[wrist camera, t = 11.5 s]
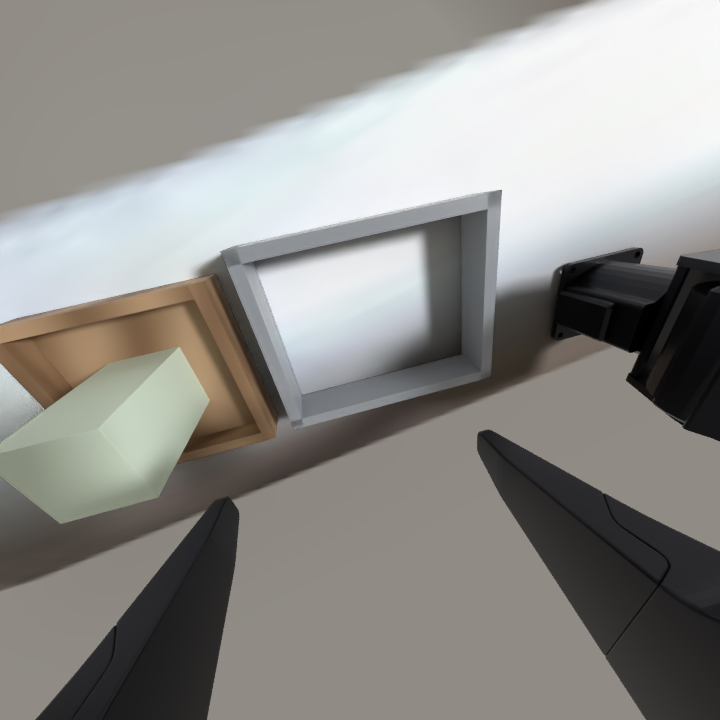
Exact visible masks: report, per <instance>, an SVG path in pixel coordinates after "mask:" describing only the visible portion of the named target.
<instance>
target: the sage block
mask: <svg viewBox="0 0 720 720" xmlns="http://www.w3.org/2000/svg"><path fill="white" fill-rule="evenodd" d="M209 401H210V399H209V398H208V396H207V394H206V392H205V391H204V389H203V387H202V385H201V384H200V382H199V380H198V378H197V377H196V375H195V373H194V371H193V370H192V368H191V366H190V364H189V363H188V361H187V359H186V357H185V356H184V354H183V352H182V350H181V349H180V347H176V348H171V349H167V350H163V351H159V352H154V353H150V354H146V355H142V356H137V357H133V358H129V359H125V360H120V361H116V362H112V363H109V364H107V365H106V366H104V367H103V368H102V369H100V370H99V371H98V372H96V373H95V374H93V375H92V376H91V377H89V378H88V379H87V380H85V381H84V382H83V383H81V384H80V385H78V386H77V387H76V388H74V389H73V390H72V391H70V392H69V393H67V394H66V395H65V396H63V397H62V398H61V399H59V400H58V401H56V402H55V403H54V404H52V405H51V406H50V407H48V408H47V409H46V410H44V411H43V412H41V413H40V414H39V415H37V416H36V417H35V418H33V419H32V420H30V421H29V422H28V423H26V424H25V425H24V426H22V427H21V428H20V429H18V430H17V431H15V432H14V433H13V434H11V435H10V436H9V437H7V438H6V439H4V440H3V441H2V442H0V477H2V478H3V479H4V480H5V481H7V482H8V483H9V484H10V485H12V486H13V487H14V488H15V489H17V490H18V491H19V492H21V493H22V494H23V495H24V496H26V497H27V498H28V499H29V500H31V501H32V502H33V503H34V504H36V505H37V506H38V507H40V508H41V509H42V510H43V511H45V512H46V513H47V514H48V515H50V516H51V517H52V518H54V519H55V520H56V521H57V522H59V523H60V524H63V523H67V522H70V521H74V520H78V519H81V518H85V517H89V516H92V515H96V514H100V513H104V512H107V511H111V510H115V509H118V508H122V507H126V506H129V505H133V504H137V503H140V502H144V501H148V500H151V499H155V498H158V497H159V495H160V493H161V491H162V490H163V488H164V486H165V484H166V482H167V480H168V478H169V476H170V475H171V473H172V471H173V469H174V467H175V465H176V463H177V461H178V460H179V458H180V456H181V454H182V452H183V450H184V448H185V446H186V444H187V443H188V441H189V439H190V437H191V435H192V433H193V431H194V429H195V428H196V426H197V424H198V422H199V420H200V418H201V416H202V414H203V412H204V411H205V409H206V407H207V405H208V403H209Z"/></svg>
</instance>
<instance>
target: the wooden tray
mask: <svg viewBox="0 0 720 720" xmlns="http://www.w3.org/2000/svg"><path fill="white" fill-rule="evenodd" d="M176 347H180V349H181V350H182V352H183V354H184V356H185V357H186V359H187V361H188V363H189V364H190V366H191V368H192V370H193V371H194V373H195V375H196V377H197V378H198V380H199V382H200V384H201V385H202V387H203V389H204V391H205V392H206V394H207V396H208V398H209V399H210V401H209V403H208V405H207V407H206V409H205V411H204V412H203V414H202V416H201V418H200V420H199V422H198V424H197V426H196V428H195V429H194V431H193V433H192V435H191V437H190V439H189V441H188V443H187V444H186V446H185V448H184V450H183V452H182V454H181V456H180V458H179V460H178V461H177V463H176V464H179V463H183V462H186V461H190V460H194V459H198V458H201V457H205V456H209V455H213V454H216V453H220V452H224V451H228V450H231V449H235V448H239V447H243V446H246V445H250V444H254V443H258V442H261V441H265V440H269V439H273V438H275V436H276V429H277V422H278V415H277V413H276V411H275V409H274V406H273V404H272V402H271V399H270V397H269V395H268V393H267V390H266V388H265V386H264V383H263V381H262V379H261V377H260V374H259V372H258V370H257V368H256V365H255V363H254V361H253V358H252V356H251V354H250V352H249V349H248V347H247V345H246V342H245V340H244V338H243V336H242V333H241V331H240V329H239V326H238V324H237V322H236V320H235V317H234V315H233V313H232V310H231V308H230V306H229V304H228V301H227V299H226V297H225V295H224V292H223V290H222V288H221V285H220V283H219V281H218V279H217V276H216V274H213V275H209V276H204V277H200V278H195V279H191V280H186V281H182V282H177V283H173V284H169V285H164V286H160V287H155V288H151V289H146V290H142V291H137V292H133V293H128V294H124V295H119V296H115V297H110V298H106V299H102V300H97V301H93V302H88V303H84V304H79V305H75V306H70V307H66V308H61V309H57V310H52V311H48V312H44V313H39V314H35V315H30V316H26V317H21V318H17V319H14V320H11V321H8V322H5V323H2V324H0V363H1V364H2V365H3V366H4V367H5V368H6V369H7V370H8V372H9V373H10V374H11V375H12V376H13V377H14V378H15V379H16V380H17V381H18V382H19V383H20V384H21V385H22V386H23V387H24V388H25V389H26V390H27V391H28V392H29V393H30V394H31V395H32V396H33V397H34V398H35V399H36V400H37V401H38V402H39V403H40V404H41V405H42V407H43V408H44V409H45V410H46V409H47V408H48V407H50V406H51V405H52V404H54V403H55V402H56V401H58V400H59V399H61V398H62V397H63V396H65V395H66V394H67V393H69V392H70V391H72V390H73V389H74V388H76V387H77V386H78V385H80V384H81V383H83V382H84V381H85V380H87V379H88V378H89V377H91V376H92V375H93V374H95V373H96V372H98V371H99V370H100V369H102V368H103V367H104V366H106V365H107V364H109V363H112V362H116V361H120V360H125V359H129V358H133V357H137V356H142V355H146V354H150V353H154V352H159V351H163V350H167V349H171V348H176Z"/></svg>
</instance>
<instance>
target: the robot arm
mask: <svg viewBox="0 0 720 720" xmlns="http://www.w3.org/2000/svg"><path fill="white" fill-rule="evenodd" d="M642 255H643V249H642V248H630V249H626V250H622V251H618V252H614V253H609V254H605V255H601V256H597V257H593V258H589V259H585V260H581V261H576V262H572V263H569V264H567V265H566V266H565V267H564V268H563V271H562V277H561V283H560V288H559V294H558V300H557V306H556V311H555V317H554V323H553V329H552V334H551V337H552V338H554V339H556V340H562V339H566V338H570V337H574V336H577V335H581V334H583V335H585V336H588V337H590V338H592V339H595V340H597V341H602V342H605V343H607V344H610V345H612V346H615V347H617V348H619V349H622V350H624V351H627V352H629V353H632V352H634V353H637V354H639V355H638V358H637V360H636V362H635V364H634V366H633V369H632V371H631V373H629V374H628V376H627V378H626V381H627V382H629V383H630V384H631V385H632V386H633V387H635V388H636V389H637V390H638V391H639V392H641V393H642V394H643V395H644V396H645V397H647V398H648V399H649V400H650V401H652V402H653V404H654V405H655V406H656V407H658V408H659V409H661V410H662V411H663V412H665V413H666V414H667V415H669V416H670V417H671V418H672V419H674V420H675V421H677V422H679V423H680V424H681V425H683V428H684V429H686V430H688V431H692V432H695V433H698V434H701V435H704V436H707V437H710V438H713V439H715V440H718V441H720V249H718V250H712V251H705V252H698V253H692V254H685V255H680V257H679V260H678V262H677V264H676V265H678V267H677V269H674V268H666V267H659V266H651V265H644V264H640V262H641V259H642ZM570 269H571V271H570ZM477 450H478V453H479V455H480V457H481V459H482V461H483V463H484V465H485V467H486V469H487V471H488V473H489V474H490V477H491V478H492V481H493V482H494V484H495V486H496V488H497V490H498V492H499V494H500V496H501V497H502V499H503V500H504V502H505V503H506V505H507V507H508V508H509V510H510V511H511V513H512V514H513V516H514V517H515V519H516V520H517V522H518V524H519V525H520V526H521V528H522V530H523V531H524V533H525V534H526V536H527V537H528V539H529V540H530V542H531V543H532V545H533V547H534V548H535V550H536V551H537V553H538V554H539V556H540V557H541V559H542V560H543V562H544V563H545V565H546V567H547V568H548V570H549V571H550V572H551V574H552V576H553V577H554V579H555V580H556V582H557V583H558V585H559V586H560V588H561V589H562V591H563V593H564V594H565V596H566V597H567V599H568V600H569V602H570V603H571V605H572V606H573V608H574V610H575V611H576V613H577V614H578V616H579V617H580V619H581V620H582V621H583V623H584V625H585V626H586V628H587V629H588V631H589V633H590V634H591V636H592V637H593V639H594V640H595V642H596V643H597V645H598V646H599V648H600V649H601V651H602V652H603V654H604V655H606V659H607V660H608V662H609V663H610V665H611V667H612V668H613V670H614V671H615V673H616V674H617V676H618V677H619V679H620V680H621V682H622V684H623V685H624V687H625V688H626V690H627V691H628V693H629V694H630V696H631V697H632V699H633V700H634V702H635V703H636V705H637V707H638V708H639V710H640V711H641V713H642V714H643V716H644V717H645V719H646V720H720V551H718V550H716V549H714V548H712V547H710V546H707V545H705V544H703V543H701V542H699V541H697V540H695V539H693V538H691V537H689V536H687V535H685V534H682V533H680V532H678V531H676V530H674V529H672V528H670V527H668V526H666V525H664V524H662V523H660V522H658V521H656V520H654V519H652V518H650V517H648V516H646V515H644V514H642V513H640V512H638V511H636V510H635V509H633V508H630V507H629V506H627V505H625V504H623V503H621V502H620V501H618V500H616V499H614V498H612V497H610V496H609V495H607V494H605V493H604V494H603V493H602V492H601V491H599V490H598V489H596V488H594V487H592V486H591V485H589V484H587V483H585V482H583V481H581V480H580V479H578V478H576V477H574V476H573V475H571V474H569V473H567V472H565V471H564V470H562V469H560V468H558V467H556V466H555V465H553V464H551V463H549V462H547V461H546V460H544V459H542V458H540V457H538V456H537V455H535V454H533V453H531V452H529V451H528V450H526V449H524V448H522V447H520V446H519V445H517V444H515V443H513V442H511V441H509V440H508V439H506V438H504V437H502V436H501V435H499V434H497V433H495V432H493V431H492V430H484V431H481V432H479V433H478V437H477ZM238 525H239V511H238V509H237V507H236V506H235V504H234V503H233V502H232V500H231V499H230V497H223V498H219V499H216V500H215V501H214V502H213V503H212V504H211V506H210V507H209V508H208V509H207V511H206V512H205V513H204V514H203V516H202V517H201V518H200V520H199V521H198V522H197V523H196V524H195V526H194V527H193V528H192V529H191V531H190V532H189V533H188V534H187V536H186V537H185V538H184V539H183V541H182V542H181V543H180V544H179V546H178V547H177V548H176V549H175V551H174V552H173V553H172V554H171V556H170V557H169V558H168V559H167V561H166V562H165V563H164V564H163V566H162V567H161V568H160V569H159V571H158V572H157V573H156V574H155V576H154V577H153V578H152V579H151V581H150V582H149V583H148V584H147V586H146V587H145V588H144V589H143V591H142V592H141V593H140V594H139V596H138V597H137V598H136V599H135V601H134V602H133V603H132V604H131V606H130V607H129V608H128V609H127V611H126V612H125V613H124V615H123V616H122V617H121V618H120V620H119V621H118V622H117V625H116V626H114V627H113V628H112V629H111V631H110V632H109V633H108V634H107V636H106V637H105V638H104V639H103V641H102V642H101V643H100V644H99V645H98V647H97V648H96V649H95V650H94V652H93V653H92V654H91V655H90V657H89V658H88V659H87V660H86V661H85V663H84V664H83V665H82V666H81V667H80V669H79V670H78V671H77V672H76V673H75V675H74V676H73V677H72V678H71V679H70V680H69V681H68V683H67V684H66V685H65V686H64V687H63V688H62V690H61V691H60V692H59V693H58V694H57V695H56V697H55V698H54V699H53V700H52V701H51V702H50V704H49V705H48V706H47V707H46V708H45V709H44V710H43V712H42V713H41V714H40V715H39V716H38V717H37V718H36V720H207V716H208V710H209V705H210V699H211V694H212V689H213V683H214V678H215V672H216V667H217V662H218V656H219V650H220V645H221V640H222V634H223V628H224V623H225V617H226V613H227V607H228V602H229V596H230V590H231V585H232V580H233V574H234V568H235V561H236V550H237V538H238Z"/></svg>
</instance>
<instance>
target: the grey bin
mask: <svg viewBox="0 0 720 720" xmlns="http://www.w3.org/2000/svg"><path fill="white" fill-rule="evenodd" d="M501 195H502V190H497V191H491V192H484V193H478V194H471V195H467V196H462V197H458V198H453V199H449V200H444V201H439V202H435V203H430V204H426V205H421V206H416V207H412V208H407V209H403V210H398V211H394V212H389V213H384V214H380V215H375V216H371V217H366V218H362V219H357V220H352V221H348V222H343V223H339V224H334V225H329V226H325V227H320V228H316V229H311V230H307V231H302V232H297V233H293V234H288V235H284V236H279V237H275V238H270V239H265V240H261V241H256V242H252V243H247V244H242V245H238V246H234V247H231V248H228V249H226V250H223V251H220V252H221V254H222V257H223V259H224V262H225V264H226V266H227V269H228V271H229V274H230V276H231V279H232V281H233V283H234V286H235V288H236V291H237V293H238V296H239V298H240V300H241V303H242V305H243V308H244V310H245V312H246V315H247V317H248V320H249V322H250V325H251V327H252V329H253V332H254V334H255V337H256V339H257V341H258V344H259V346H260V349H261V351H262V354H263V356H264V358H265V361H266V363H267V366H268V368H269V370H270V373H271V375H272V378H273V380H274V383H275V385H276V387H277V390H278V392H279V395H280V397H281V400H282V402H283V404H284V407H285V409H286V412H287V414H288V416H289V419H290V421H291V424H292V426H293V429H294V430H295V429H299V428H302V427H306V426H310V425H314V424H317V423H321V422H325V421H329V420H332V419H336V418H340V417H344V416H347V415H351V414H355V413H359V412H362V411H366V410H370V409H374V408H377V407H381V406H385V405H389V404H392V403H396V402H400V401H404V400H407V399H411V398H415V397H419V396H423V395H426V394H430V393H434V392H438V391H441V390H445V389H449V388H453V387H456V386H460V385H464V384H468V383H471V382H475V381H479V380H483V379H486V378H490V377H491V364H492V347H493V330H494V314H495V297H496V280H497V263H498V246H499V229H500V212H501ZM459 215H461V301H462V354H460V355H457V356H453V357H449V358H445V359H441V360H437V361H433V362H429V363H426V364H422V365H418V366H414V367H410V368H406V369H402V370H398V371H395V372H391V373H387V374H383V375H379V376H375V377H371V378H368V379H364V380H360V381H356V382H352V383H348V384H344V385H340V386H337V387H333V388H329V389H325V390H321V391H317V392H313V393H309V394H306V395H302V394H301V391H300V389H299V386H298V383H297V380H296V378H295V375H294V372H293V369H292V367H291V364H290V361H289V358H288V356H287V353H286V350H285V347H284V345H283V342H282V339H281V336H280V333H279V331H278V328H277V325H276V322H275V320H274V317H273V314H272V311H271V309H270V306H269V303H268V300H267V298H266V295H265V292H264V289H263V287H262V284H261V281H260V278H259V276H258V273H257V270H256V267H255V265H254V262H253V261H257V260H262V259H266V258H271V257H275V256H280V255H284V254H289V253H293V252H298V251H302V250H307V249H311V248H316V247H320V246H324V245H329V244H333V243H338V242H342V241H347V240H351V239H356V238H360V237H365V236H369V235H374V234H378V233H383V232H387V231H392V230H396V229H401V228H405V227H410V226H414V225H419V224H423V223H428V222H432V221H437V220H441V219H446V218H450V217H454V216H459Z"/></svg>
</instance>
